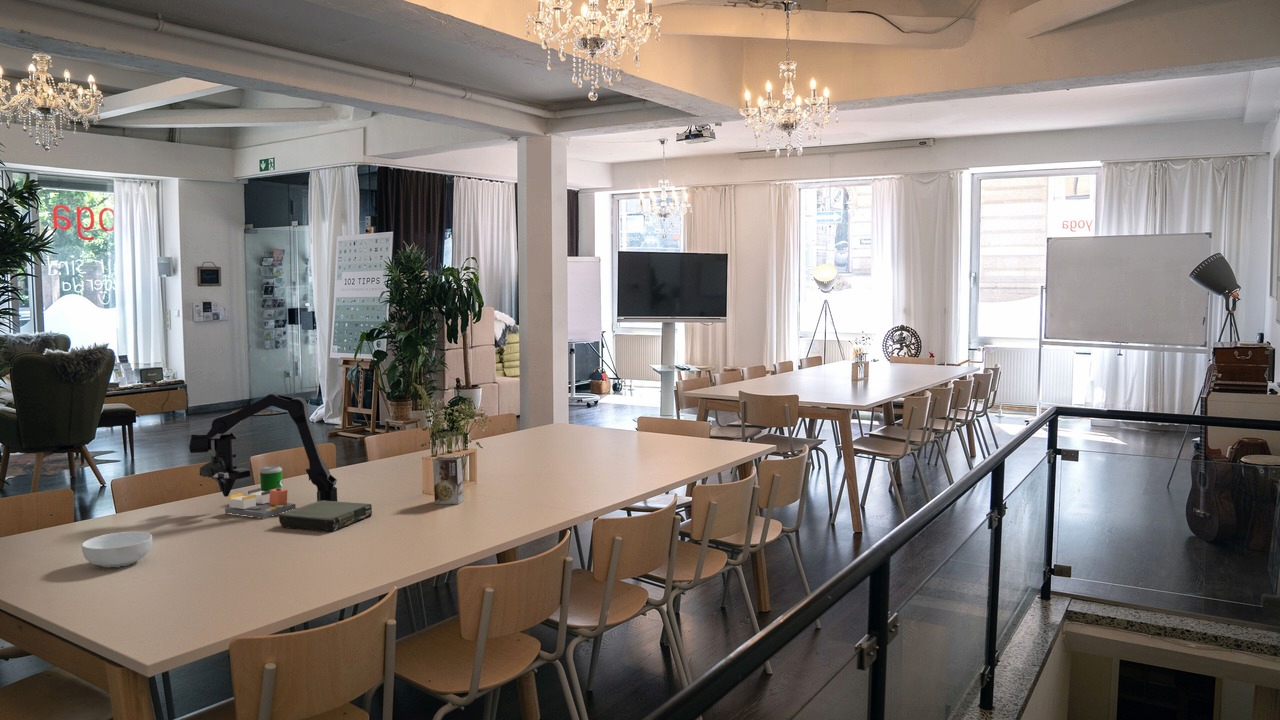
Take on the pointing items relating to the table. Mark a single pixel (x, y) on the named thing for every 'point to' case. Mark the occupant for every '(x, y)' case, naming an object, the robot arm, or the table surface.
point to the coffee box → (448, 480)
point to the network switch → (325, 515)
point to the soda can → (271, 477)
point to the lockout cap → (278, 496)
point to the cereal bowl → (117, 548)
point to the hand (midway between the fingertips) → (226, 496)
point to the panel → (262, 510)
